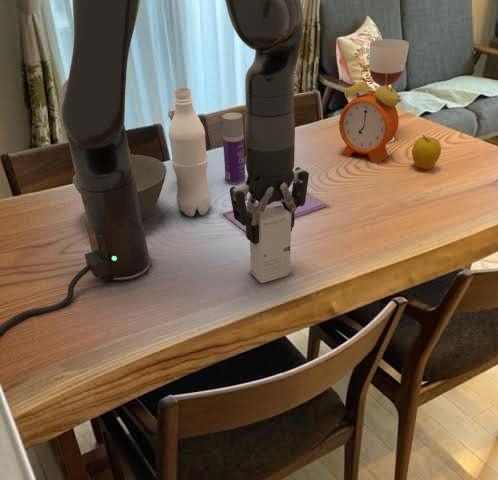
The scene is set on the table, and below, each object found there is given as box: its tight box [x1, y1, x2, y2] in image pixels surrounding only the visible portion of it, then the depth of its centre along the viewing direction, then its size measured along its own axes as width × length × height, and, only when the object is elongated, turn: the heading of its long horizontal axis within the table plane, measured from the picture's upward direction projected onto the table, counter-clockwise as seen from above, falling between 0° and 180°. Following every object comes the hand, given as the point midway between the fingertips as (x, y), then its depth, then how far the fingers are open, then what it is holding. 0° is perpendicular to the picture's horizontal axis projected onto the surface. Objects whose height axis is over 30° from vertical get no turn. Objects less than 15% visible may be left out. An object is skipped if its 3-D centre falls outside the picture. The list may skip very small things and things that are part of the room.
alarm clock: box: [338, 68, 400, 164], centre depth 130 cm, size 13×6×20 cm, turn 53°
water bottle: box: [168, 86, 212, 217], centre depth 108 cm, size 7×7×25 cm
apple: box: [411, 134, 442, 170], centre depth 127 cm, size 6×6×8 cm
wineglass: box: [368, 38, 410, 144], centre depth 138 cm, size 9×10×23 cm
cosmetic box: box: [249, 205, 292, 284], centre depth 93 cm, size 6×4×12 cm
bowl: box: [72, 154, 167, 219], centre depth 112 cm, size 19×19×10 cm
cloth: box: [222, 190, 328, 233], centre depth 115 cm, size 20×10×1 cm, turn 122°
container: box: [221, 112, 246, 185], centre depth 122 cm, size 5×5×15 cm
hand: (270, 235), depth 92 cm, fingers closed on cosmetic box, 6 cm apart
